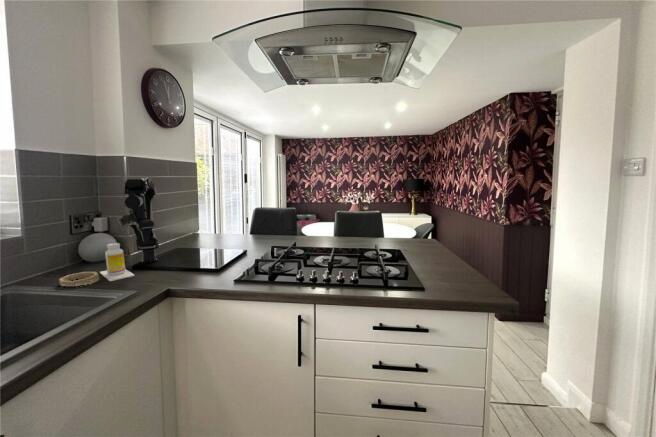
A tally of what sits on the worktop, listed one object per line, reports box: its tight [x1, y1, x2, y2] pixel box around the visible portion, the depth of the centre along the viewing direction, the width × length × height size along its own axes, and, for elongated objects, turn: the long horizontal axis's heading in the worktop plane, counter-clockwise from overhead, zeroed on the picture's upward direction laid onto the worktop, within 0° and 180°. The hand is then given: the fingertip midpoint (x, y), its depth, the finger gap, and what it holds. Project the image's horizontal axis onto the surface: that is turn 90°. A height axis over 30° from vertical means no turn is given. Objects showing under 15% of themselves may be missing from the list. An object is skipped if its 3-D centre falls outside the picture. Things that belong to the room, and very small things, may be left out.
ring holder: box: [58, 271, 100, 287], centre depth 131 cm, size 12×12×2 cm
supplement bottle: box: [104, 242, 126, 275], centre depth 140 cm, size 7×7×13 cm
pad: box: [99, 268, 135, 282], centre depth 140 cm, size 16×9×1 cm, turn 47°
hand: (141, 241), depth 146 cm, fingers open, 9 cm apart
